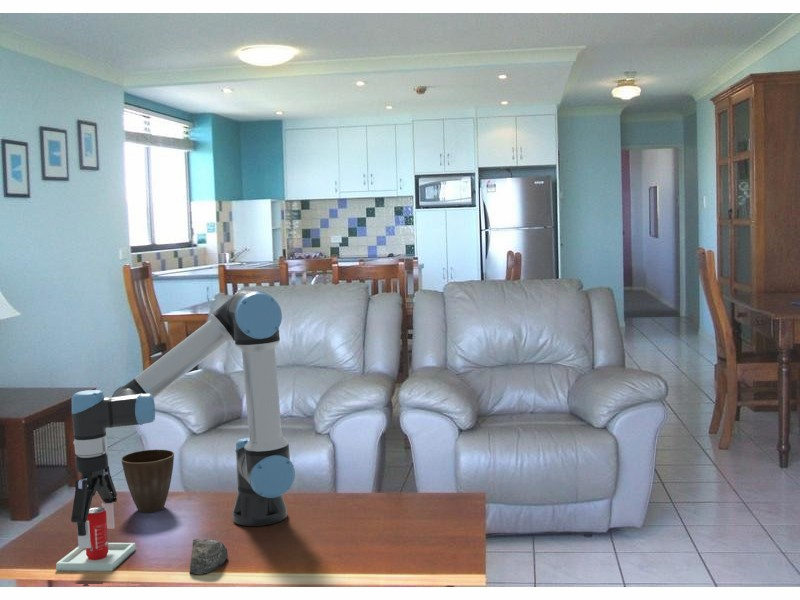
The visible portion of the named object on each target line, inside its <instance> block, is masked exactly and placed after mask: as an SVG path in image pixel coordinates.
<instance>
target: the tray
mask: <svg viewBox="0 0 800 600" xmlns="http://www.w3.org/2000/svg"><path fill="white" fill-rule="evenodd" d="M136 546H137V545H136V542H108V553H107V557H106V558H104V559H101V560H89V559H88V557H87V555H86V548H79V546H76V547H75V548H73V550H72V551H70V552H69V553H67V554H66V555H65V556H64V557H62V558H61V559H60V560H58V561H57V562H56V563H55V566H56V571H58V572H59V571H61V572H63V571H65V572H67V571H69V572H70V571H71V572H72V571H75V572H77V571H79V572H80V571H81V572H88V571H89V572H92V571H93V572H113V571H114V570H115V569H116V568H118V566H120V565H121V564H122V563H123V562H124V561H125V560H126V559H127V558H128V557H129V556H131V555H132V554H133V553H134V552H135V551H137V550H136V549H137V547H136Z"/></svg>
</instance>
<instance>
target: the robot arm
mask: <svg viewBox="0 0 800 600" xmlns="http://www.w3.org/2000/svg"><path fill="white" fill-rule="evenodd" d="M282 320H283V314H282V308H281V306H280V305H279V303H278V301H277V300H276V299H275V298H273V296H272V295H270V294H268V293H266V292H264V291H260V290H258V291H257V290H254V289H245V290H244V289H243V290H240V291H238V292H236V293H234V294H233V295H232V296H231V297H230V298H229V299H228V300H227V301H225V302H224V303H223V304H222V305H221V306H219V307H218V308H217V309H216V310H215V311H213V312H212V313H211V314H210V317H209V320H208V321H207V322H205V323H204V324H203V325H201V326H200V327H199V328H197V329H196V330H195V331H193V332H192V333H190V335H188V336H187V337H186V338H184V339H183V340H181V341H180V342H179V343H178V344H177V345H175V346H174V347H173V348H171V349H170V350H169V351H168V352H166V353H165V354H164V355H162V356H161V357H160V358H158V359H157V360H156V361H154V362H153V363H152V364H150V365H149V366H148V367H147V368H145V369H144V370H143V371H141V372H140V373H139V374H137V376H135V377H133V378H132V379H131V380H130V381H129V382H127V383H126V384H124V385H121V386H118V387H117V388H115V390H114V391H113V392H112V394H111V396H109V397H107V396H106V397H105V395H104V392H103V391H102V390H99V389H93V390H92V389H87V390H83V391H78V392H75V393H73V395H72V397H71V419H72V430H73V431H72V432H73V442H72V443H73V445H74V455H76V456H75V459H74V461H75V462H74V463H75V471H77V472H78V473H81V474H82V475H81V479H76V480H75V482H74V484H75V485H74V486H75V491H74V497H73V505H72V511H71V520H70V522H71V523H76V528H77V529H76V532H77V545H78V546H79V548H90V547H91V542H90V528H89V521H87V518H88V514H89V509H90V508H91V506H92V505H91V504H92V500H93V497H94V496H95V495H96V492H97V493H98V495H99V496H100V499H101V500H102V502H103V503H101V507H103V508H105V511H106V519H107V530H108V529H109V530H111V529H112V530H113V529H115V528H116V525H115V514H114V513H115V512H114V510H115V509H114V503H116V502H117V501H118V498H117V495H118V494H117V491H116V488H115V484H114V482H113V478H112V475H111V472H110V466H109V456H108V453H107V450H108V440H107V432H106V429H109V428H119V427H127V426H143V425H145V424H151V423H153V422H154V421H155V420H156V405H155V398H157V397H158V396H159V395H160V394H162V393H164V391H166V390H167V389H168V388H170V387H171V386H172V385H173V384H174V383H176V382H177V381H178V380H180V379H181V378H182V377H184V376H185V375H186V374H188V373H189V372H190V371H191V370H193V369H194V368H196V366H198V365H199V364H200V363H202V362H203V361H205V359H207V358H208V357H210V356H211V355H212V354H213V353H215V352H217V350H218V349H220V348H221V347H222V346H224V345H225V344H226V343H228V342H230V343H231V342H232V343H233V342H234V345H235V346H236V347H237V348H238V349H239V350H240V351H241V355H242V357H241V358H242V370H243V380H244V389H245V390H244V391H245V403H246V413H247V425H248V426H247V427H248V436H249V437H244V438H240V439H237V441H236V442H235V450H234V452H235V457H236V458H235V459H236V481H237V495H236V497H235V501H234V502H235V503H234V506H233V510H232V521H233V523H235V524H236V525H240V526H244V527H262V526H268V525H274V524H277V523H280V522H282V521H284V520H285V519H287V517H288V509H287V505H286V502H285V500H284V497H283V495H284V494H286V493H287V492H288V491H289V490H290V489H291V487H292V486H293V484H294V483H295V479H296V470H295V467H294V464H293V462H292V461H291V458H290V457H291V455H290V446H289V445H290V444H289V441H288V440H287V439H286V438H285V437H284V436H283V431H282V420H281V418H282V417H281V407H280V406H281V404H280V395H279V382H278V372H277V361H276V360H277V359H276V358H277V357H276V346H277V345H278V344H279V343H280V339H281V338H280V327H281V324H282ZM78 546H77V547H78Z"/></svg>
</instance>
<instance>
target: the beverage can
mask: <svg viewBox="0 0 800 600" xmlns="http://www.w3.org/2000/svg"><path fill="white" fill-rule="evenodd" d="M87 521H89V528H90V542H91V547H90V548H86V555H87V557H88V559H89V560H101V559H104V558H106V557H107V553H108V543H109V542H108V541H109V539H108V538H109V537H108V529H107V519H106V511H105V508H103V507H102V506H95V507H94V506H93V507H90V509H89V514H88V518H87Z"/></svg>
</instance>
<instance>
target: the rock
mask: <svg viewBox="0 0 800 600" xmlns="http://www.w3.org/2000/svg"><path fill="white" fill-rule="evenodd" d="M228 557H229V556H228V549H227V547H226V546H225V545H224V544H223V543H222V541H219V540H215V539H205V538H204V539H200V538H196V539H195V538H194V539H193V540H192V548H191V556H190V565H189V567H190V568H189V574H192V575H199V576H201V575H203V574H210V573H212V572H214V571H216V570H218V569H219V567H221V566H223V565H224V564H225V561H226V560H227V559H228Z"/></svg>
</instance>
